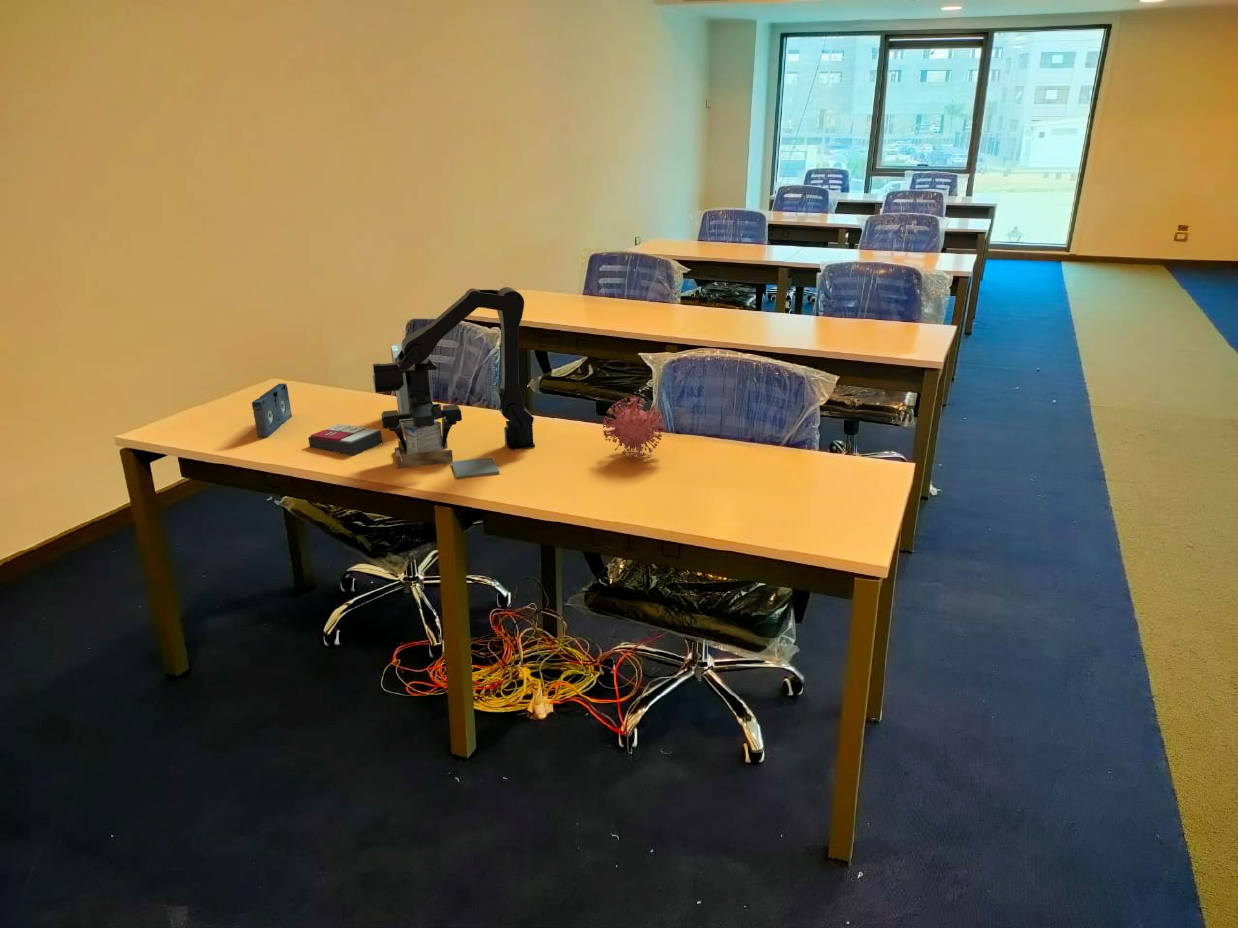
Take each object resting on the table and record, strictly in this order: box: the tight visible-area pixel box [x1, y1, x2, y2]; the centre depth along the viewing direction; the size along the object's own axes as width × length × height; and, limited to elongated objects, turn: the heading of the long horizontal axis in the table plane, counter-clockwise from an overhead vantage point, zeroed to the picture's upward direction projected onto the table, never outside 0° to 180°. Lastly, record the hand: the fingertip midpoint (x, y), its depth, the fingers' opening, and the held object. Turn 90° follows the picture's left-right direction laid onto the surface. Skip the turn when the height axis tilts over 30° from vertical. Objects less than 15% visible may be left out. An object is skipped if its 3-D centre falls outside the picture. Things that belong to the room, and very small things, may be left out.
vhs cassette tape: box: [251, 383, 293, 439], centre depth 234 cm, size 18×3×10 cm, turn 178°
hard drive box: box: [389, 343, 413, 429], centre depth 237 cm, size 16×8×20 cm, turn 17°
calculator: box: [307, 423, 383, 457], centre depth 221 cm, size 11×4×15 cm
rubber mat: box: [450, 456, 500, 480], centre depth 205 cm, size 10×10×1 cm
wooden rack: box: [394, 439, 454, 469], centre depth 212 cm, size 13×12×3 cm
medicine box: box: [403, 420, 444, 454], centre depth 211 cm, size 8×4×9 cm, turn 141°
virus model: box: [602, 396, 665, 459], centre depth 209 cm, size 15×15×15 cm
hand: (424, 449), depth 212 cm, fingers closed on medicine box, 9 cm apart
